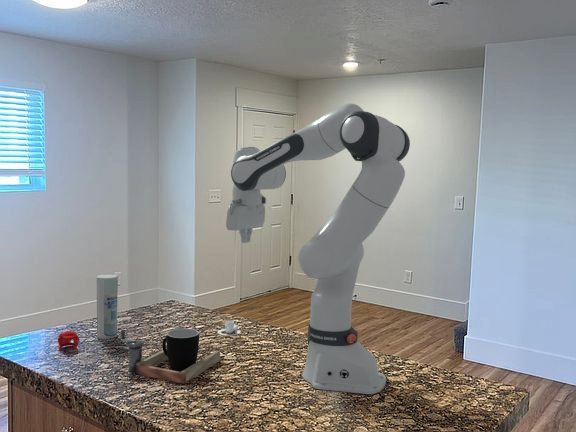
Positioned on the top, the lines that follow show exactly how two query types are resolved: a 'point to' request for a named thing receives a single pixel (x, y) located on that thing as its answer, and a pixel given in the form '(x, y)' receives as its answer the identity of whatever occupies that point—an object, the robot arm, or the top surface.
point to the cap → (68, 339)
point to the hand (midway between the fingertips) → (245, 242)
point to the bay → (149, 369)
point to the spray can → (107, 306)
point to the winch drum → (133, 351)
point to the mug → (181, 348)
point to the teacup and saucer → (229, 328)
